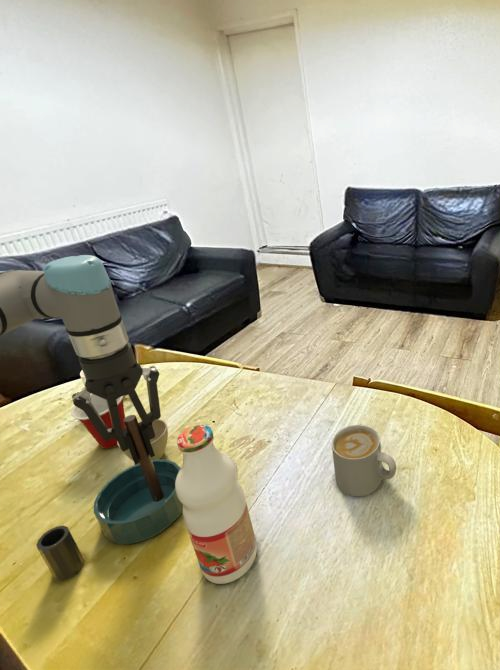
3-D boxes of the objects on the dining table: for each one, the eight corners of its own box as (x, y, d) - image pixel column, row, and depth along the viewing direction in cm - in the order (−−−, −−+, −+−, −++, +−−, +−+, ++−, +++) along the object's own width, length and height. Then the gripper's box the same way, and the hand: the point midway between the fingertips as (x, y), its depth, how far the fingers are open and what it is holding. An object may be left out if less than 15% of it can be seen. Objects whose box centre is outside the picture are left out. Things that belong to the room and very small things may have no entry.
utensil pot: (47, 580, 70) (29, 549, 67) (67, 555, 75) (51, 524, 71) (71, 581, 70) (54, 550, 67) (90, 556, 74) (75, 525, 71)
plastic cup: (82, 441, 102) (65, 402, 97) (130, 420, 109) (116, 382, 104) (92, 464, 95) (74, 423, 90) (143, 439, 101) (129, 400, 97)
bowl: (84, 544, 76) (73, 522, 74) (135, 479, 90) (127, 458, 88) (162, 548, 75) (153, 525, 73) (202, 481, 89) (195, 460, 86)
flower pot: (158, 436, 102) (150, 413, 99) (183, 450, 97) (176, 427, 95) (117, 463, 95) (108, 439, 92) (142, 480, 90) (133, 455, 87)
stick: (150, 501, 82) (120, 421, 73) (156, 493, 83) (128, 414, 75) (160, 502, 82) (131, 422, 73) (166, 493, 83) (138, 414, 75)
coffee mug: (326, 483, 87) (321, 446, 83) (355, 453, 94) (352, 418, 90) (377, 512, 80) (375, 474, 76) (404, 478, 87) (403, 441, 83)
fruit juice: (265, 563, 72) (235, 438, 60) (210, 598, 67) (165, 469, 55) (247, 525, 79) (217, 406, 67) (196, 553, 74) (154, 431, 62)
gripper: (50, 375, 61) (100, 490, 71) (158, 341, 70) (190, 447, 80) (46, 356, 67) (94, 465, 76) (148, 326, 75) (179, 427, 85)
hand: (143, 456), depth 78 cm, fingers closed on stick, 2 cm apart
